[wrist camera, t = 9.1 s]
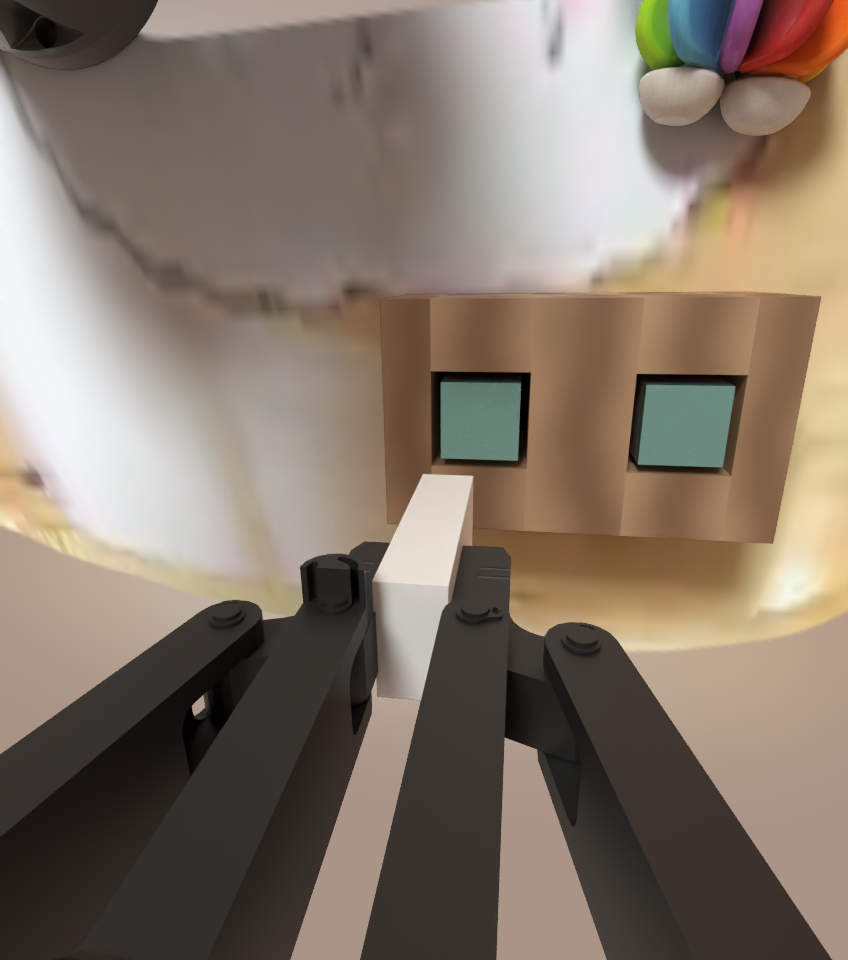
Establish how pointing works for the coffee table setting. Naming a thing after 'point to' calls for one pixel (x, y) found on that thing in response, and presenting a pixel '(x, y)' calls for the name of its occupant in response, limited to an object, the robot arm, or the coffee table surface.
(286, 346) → the coffee table surface
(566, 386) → the socket block
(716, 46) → the rainbow disc car
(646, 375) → the peg
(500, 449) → the peg
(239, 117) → the coffee table surface
